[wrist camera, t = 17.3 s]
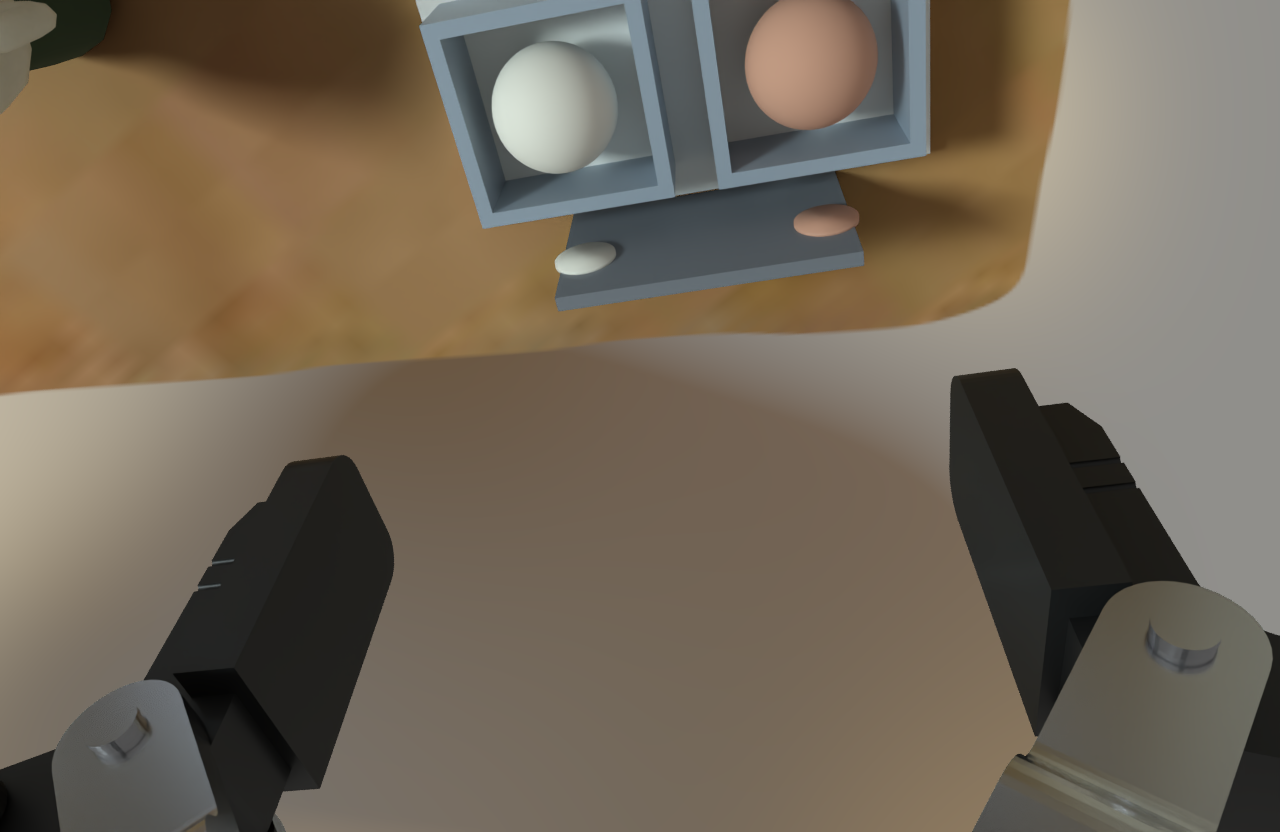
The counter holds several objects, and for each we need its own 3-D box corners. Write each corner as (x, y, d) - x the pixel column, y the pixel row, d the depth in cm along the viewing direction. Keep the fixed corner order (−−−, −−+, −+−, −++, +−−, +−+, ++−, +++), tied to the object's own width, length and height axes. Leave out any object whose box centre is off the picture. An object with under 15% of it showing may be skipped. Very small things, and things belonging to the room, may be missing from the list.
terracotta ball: (734, -10, 36) (740, 22, 32) (863, -36, 35) (887, -6, 31) (749, 115, 38) (756, 159, 35) (869, 94, 38) (890, 137, 34)
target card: (566, 211, 42) (546, 296, 36) (841, 166, 40) (871, 246, 34) (570, 226, 43) (551, 312, 36) (842, 182, 41) (872, 264, 35)
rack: (410, -34, 36) (382, -10, 33) (924, -142, 33) (953, -128, 30) (489, 219, 43) (472, 261, 39) (926, 146, 40) (949, 185, 36)
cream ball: (490, 37, 37) (462, 76, 33) (609, 15, 36) (595, 52, 32) (522, 154, 40) (500, 202, 36) (633, 136, 39) (623, 183, 35)
